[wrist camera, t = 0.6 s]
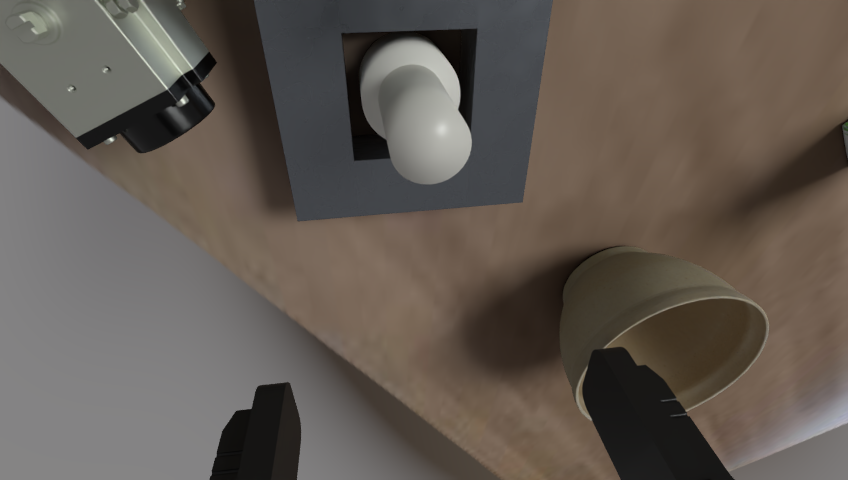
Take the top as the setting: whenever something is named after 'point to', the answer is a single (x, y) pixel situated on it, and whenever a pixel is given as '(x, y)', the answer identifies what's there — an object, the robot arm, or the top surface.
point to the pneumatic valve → (109, 67)
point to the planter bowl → (660, 322)
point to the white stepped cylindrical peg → (415, 106)
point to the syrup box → (845, 135)
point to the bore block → (368, 154)
